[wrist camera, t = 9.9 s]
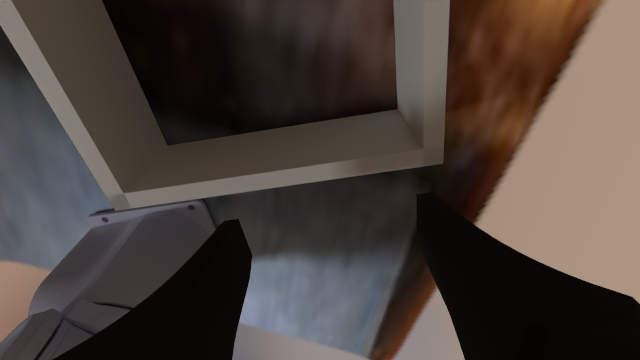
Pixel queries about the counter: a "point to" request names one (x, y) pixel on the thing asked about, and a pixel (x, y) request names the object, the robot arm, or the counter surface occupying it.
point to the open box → (230, 151)
